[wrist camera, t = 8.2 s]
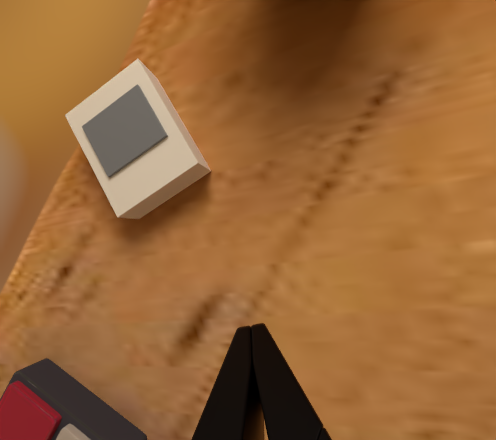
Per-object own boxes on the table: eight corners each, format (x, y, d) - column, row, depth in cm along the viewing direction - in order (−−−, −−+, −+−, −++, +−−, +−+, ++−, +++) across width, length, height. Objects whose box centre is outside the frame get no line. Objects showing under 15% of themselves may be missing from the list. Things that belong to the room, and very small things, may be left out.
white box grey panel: (196, 161, 19) (135, 56, 20) (115, 217, 20) (62, 113, 21) (212, 172, 22) (159, 80, 23) (141, 219, 23) (94, 129, 25)
